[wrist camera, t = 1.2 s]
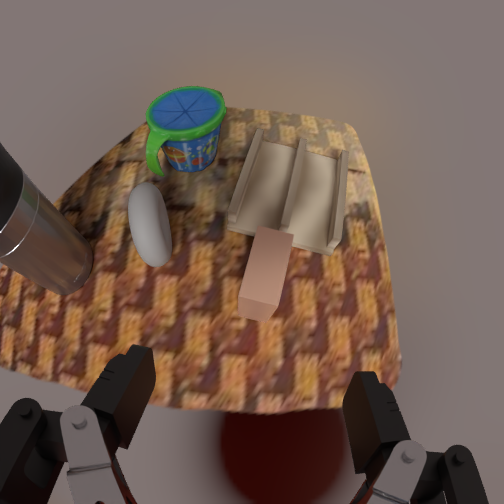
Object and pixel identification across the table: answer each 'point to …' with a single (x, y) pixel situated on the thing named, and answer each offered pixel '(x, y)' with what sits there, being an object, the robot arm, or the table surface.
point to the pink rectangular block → (264, 274)
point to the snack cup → (184, 128)
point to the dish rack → (291, 194)
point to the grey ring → (150, 224)
